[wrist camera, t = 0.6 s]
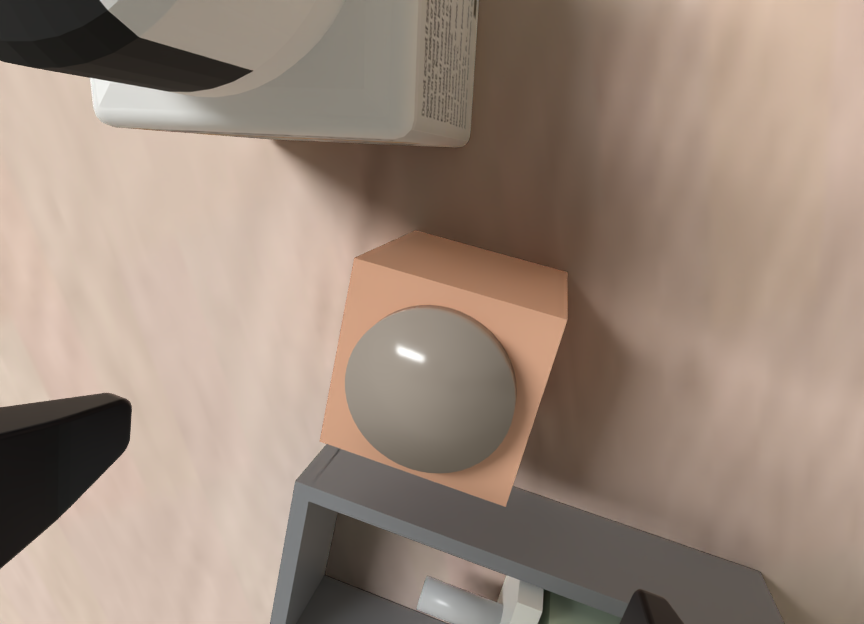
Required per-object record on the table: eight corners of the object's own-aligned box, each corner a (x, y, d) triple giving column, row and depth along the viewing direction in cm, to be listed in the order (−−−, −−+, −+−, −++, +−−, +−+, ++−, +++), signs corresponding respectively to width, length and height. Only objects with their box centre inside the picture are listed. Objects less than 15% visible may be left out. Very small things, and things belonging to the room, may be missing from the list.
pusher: (547, 522, 21) (542, 611, 17) (503, 644, 23) (488, 750, 19) (453, 489, 21) (426, 567, 17) (418, 610, 23) (386, 706, 19)
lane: (760, 571, 20) (806, 669, 16) (676, 726, 22) (699, 841, 18) (341, 427, 22) (295, 481, 18) (310, 580, 25) (264, 655, 21)
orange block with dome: (567, 271, 18) (567, 326, 12) (522, 410, 20) (503, 520, 14) (416, 230, 19) (345, 261, 13) (385, 366, 21) (310, 452, 15)
